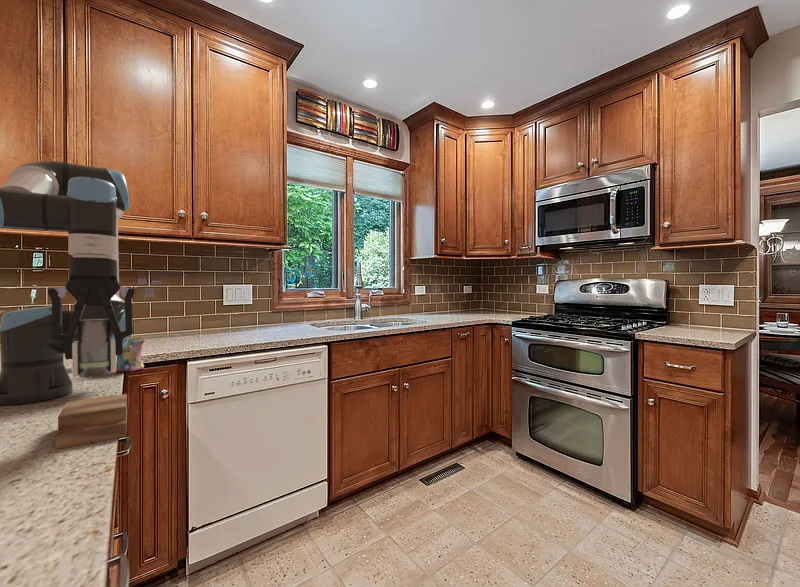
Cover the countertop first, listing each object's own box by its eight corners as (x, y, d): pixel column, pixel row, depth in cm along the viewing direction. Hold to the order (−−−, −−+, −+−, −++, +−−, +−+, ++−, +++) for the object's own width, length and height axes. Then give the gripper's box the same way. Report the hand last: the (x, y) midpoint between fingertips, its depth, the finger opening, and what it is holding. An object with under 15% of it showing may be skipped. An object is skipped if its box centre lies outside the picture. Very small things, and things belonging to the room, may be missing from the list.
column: (79, 373, 76) (79, 319, 76) (112, 370, 79) (111, 318, 79) (76, 378, 72) (75, 321, 72) (110, 375, 75) (110, 320, 75)
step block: (67, 425, 77) (66, 401, 77) (127, 416, 83) (126, 393, 83) (56, 449, 66) (55, 421, 66) (126, 436, 72) (125, 410, 72)
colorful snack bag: (111, 369, 129) (110, 339, 129) (143, 366, 135) (143, 336, 135) (113, 376, 120) (113, 343, 119) (148, 372, 126) (148, 340, 125)
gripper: (25, 253, 67) (28, 384, 67) (148, 258, 77) (150, 370, 78) (34, 256, 73) (37, 375, 73) (147, 260, 83) (149, 364, 84)
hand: (95, 373), depth 76 cm, fingers closed on column, 5 cm apart
